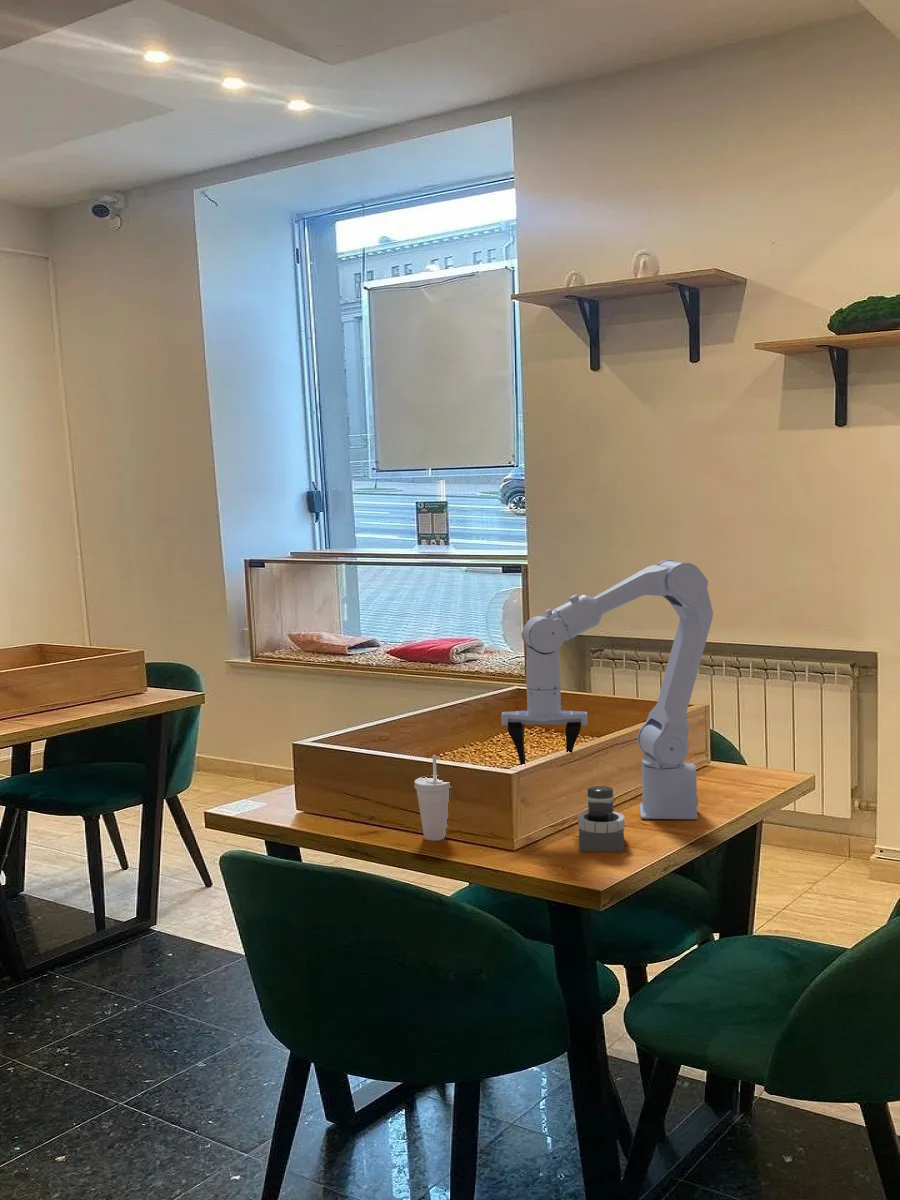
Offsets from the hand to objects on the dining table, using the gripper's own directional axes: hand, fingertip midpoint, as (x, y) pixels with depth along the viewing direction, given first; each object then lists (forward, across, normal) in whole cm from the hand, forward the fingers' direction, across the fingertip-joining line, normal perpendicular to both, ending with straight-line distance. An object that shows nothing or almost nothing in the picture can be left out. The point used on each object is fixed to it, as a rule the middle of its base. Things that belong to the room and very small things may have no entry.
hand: (545, 765), depth 193 cm
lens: (+7, +9, -12) cm, 16 cm away
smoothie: (+10, -18, -9) cm, 23 cm away
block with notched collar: (+10, +10, -12) cm, 18 cm away
